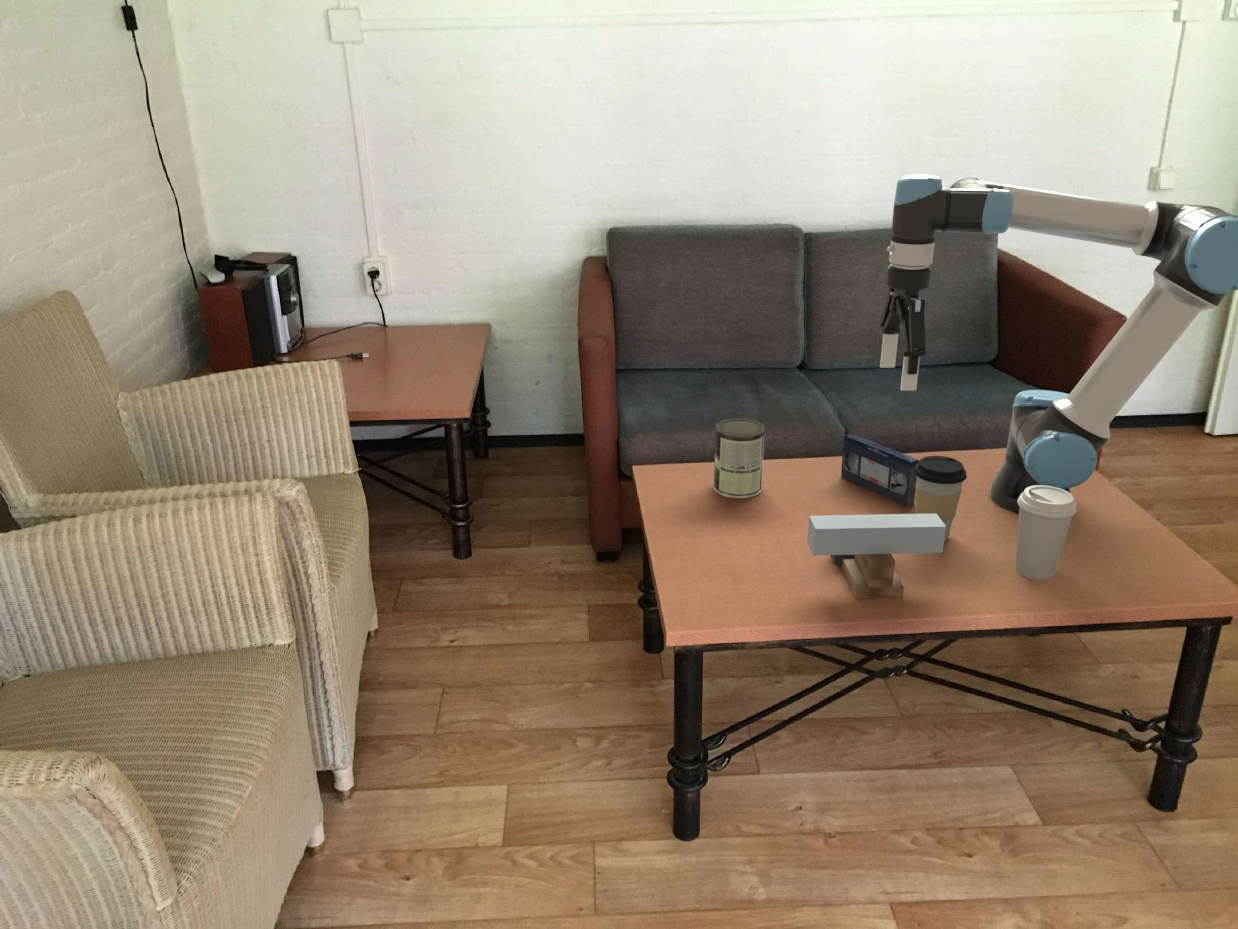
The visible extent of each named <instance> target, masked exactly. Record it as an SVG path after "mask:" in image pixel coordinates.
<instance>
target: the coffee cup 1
mask: <svg viewBox="0 0 1238 929" xmlns="http://www.w3.org/2000/svg"><path fill="white" fill-rule="evenodd" d="M914 474H915V475H916V476H917V483H916V492H915V501H914V504H915V509H914V510H915V512H914V513H915V514H932V513H937V515H938V516H939V517H940V519H941V520H942V522H943V523H944V524H945V526H946V531H945V539H944V542H945V541H947V540H948V539H949V536H950V532H951V528H952V524H953V520H954V518H955V517H956V513H957V512H956V511H957V510H958V504H959V501H960V498H961V494H962V486H963V482H964V481H965V480H967V477H968V476H967V471H966V469H965V468H964V464H963V463H962V462H961V461H960V460H958V459H955V458H953V457H949V456H945V455H929V456H927V455H926V456H923V457H921V458H920V459H919V463H918V464H916V465H915V469H914Z"/></svg>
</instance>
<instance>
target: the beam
mask: <svg viewBox="0 0 1238 929" xmlns="http://www.w3.org/2000/svg"><path fill="white" fill-rule="evenodd" d="M945 531H946V526H945V524H944V523H943V522H942V520H941V519H940V517H939V516H938V515H937V513H932V514H916V513H892V514H890V513H886V514H884V513H883V514H882V513H881V514H832V515H830V514H829V515H809V517H808V528H807V541H806V542H807V544H808V546H809V549H810V551H811V553H812V555H813V556H830V555H859V554H891V555H898V554H900V555H905V554H906V555H907V554H908V555H909V554H910V555H911V554H943V552H944V551H943V550H944V545H945V541H944V539H945Z"/></svg>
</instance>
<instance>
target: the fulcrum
mask: <svg viewBox="0 0 1238 929" xmlns="http://www.w3.org/2000/svg"><path fill="white" fill-rule="evenodd" d="M841 565H842V567H841V569H842V572H843V574H844V576H845V578H846V580H847V582H848V585H849V587H850V588H851V591H852V593H853V596H854V597H855V599H868V598H869V599H871V598H872V599H873V598H875V599H876V598H877V599H878V598H903V597H904V591H905V590H904V589H905V586H904V584H903V583H902V581H901V579H900V577H899V575H898V574H897V573H896V570H895V566H896V560H895V558H894V557H893V554H859V555H855V556H854V559H843V563H842V564H841Z"/></svg>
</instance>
